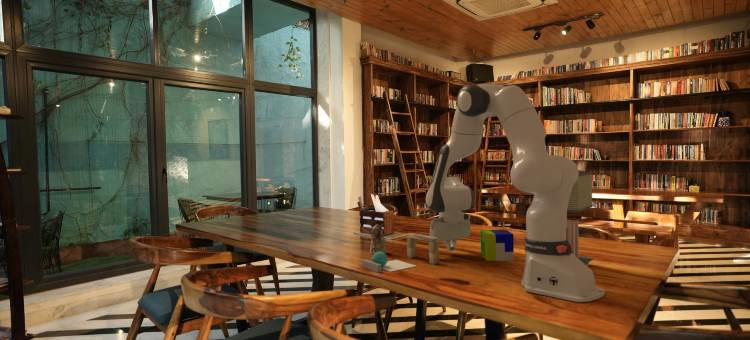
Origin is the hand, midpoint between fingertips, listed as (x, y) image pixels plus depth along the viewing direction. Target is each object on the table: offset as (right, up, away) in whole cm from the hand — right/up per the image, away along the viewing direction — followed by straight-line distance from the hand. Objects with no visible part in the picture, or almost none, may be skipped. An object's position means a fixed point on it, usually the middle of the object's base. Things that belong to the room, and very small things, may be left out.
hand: (450, 250), depth 169 cm
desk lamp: (+36, -2, -22) cm, 43 cm away
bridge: (-12, -2, -9) cm, 15 cm away
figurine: (-29, -2, +5) cm, 30 cm away
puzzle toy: (+17, -2, -7) cm, 18 cm away
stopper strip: (-32, -3, -21) cm, 38 cm away
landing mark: (-24, -2, -16) cm, 29 cm away
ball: (-29, 0, -18) cm, 34 cm away
